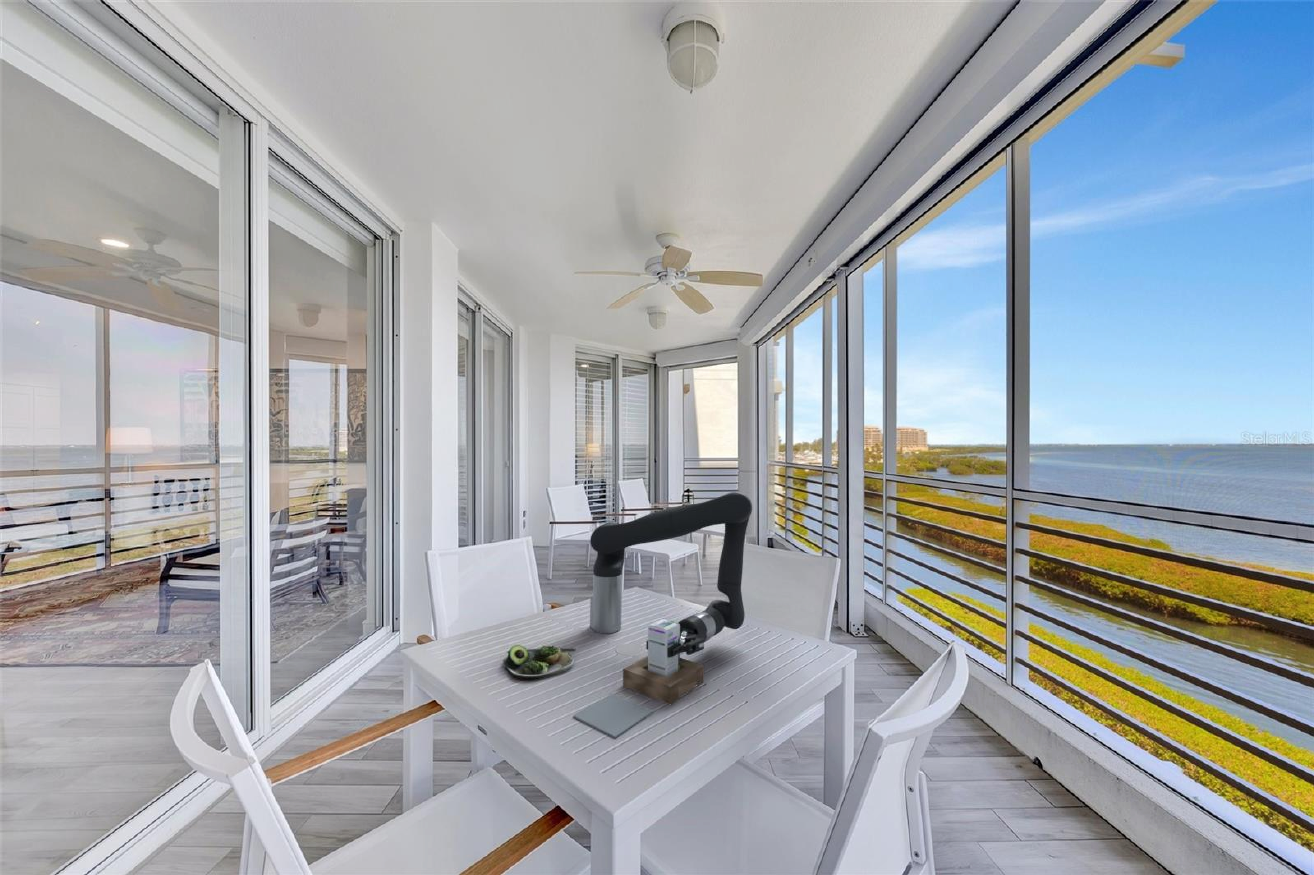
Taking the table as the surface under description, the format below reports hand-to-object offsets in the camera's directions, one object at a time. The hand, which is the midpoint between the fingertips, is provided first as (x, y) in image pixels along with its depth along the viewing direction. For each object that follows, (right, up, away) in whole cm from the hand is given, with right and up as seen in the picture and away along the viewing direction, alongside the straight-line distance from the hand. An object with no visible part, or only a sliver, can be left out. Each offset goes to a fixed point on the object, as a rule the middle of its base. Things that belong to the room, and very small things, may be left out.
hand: (658, 649), depth 115 cm
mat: (-10, -8, -13) cm, 18 cm away
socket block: (+1, -9, +2) cm, 9 cm away
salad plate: (-32, -9, +11) cm, 35 cm away
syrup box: (+1, -9, +2) cm, 10 cm away
